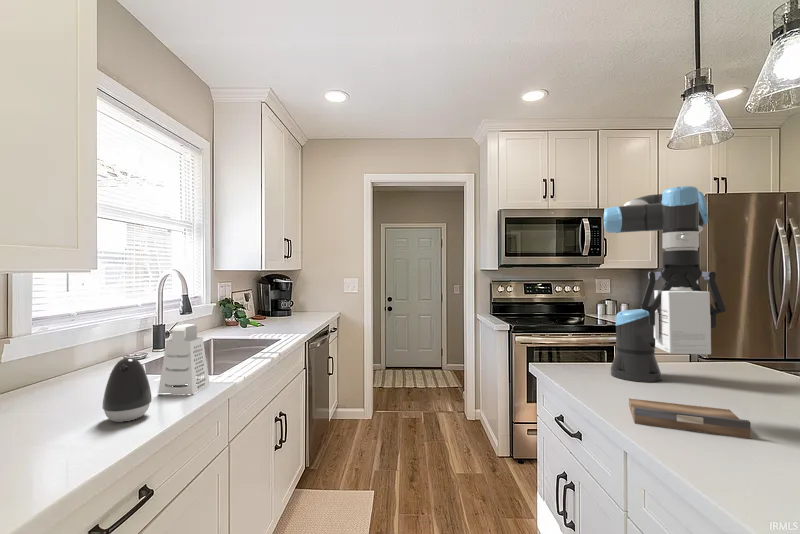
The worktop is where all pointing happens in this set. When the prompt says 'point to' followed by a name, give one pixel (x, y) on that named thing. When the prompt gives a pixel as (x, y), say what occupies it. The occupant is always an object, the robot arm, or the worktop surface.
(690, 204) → the robot arm
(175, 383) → the grater
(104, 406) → the black egg-shaped figure
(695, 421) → the shelf board
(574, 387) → the worktop surface
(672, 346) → the supplement box
